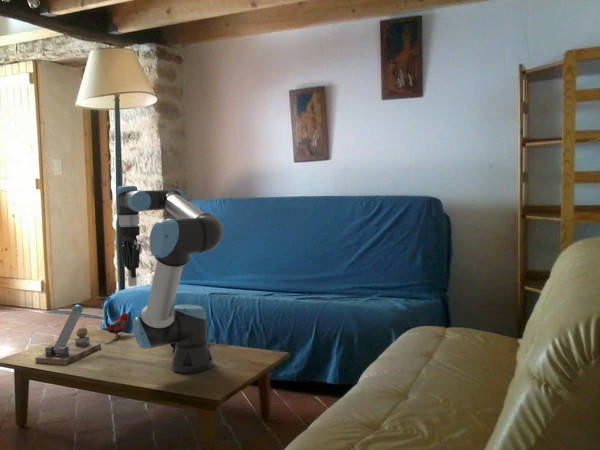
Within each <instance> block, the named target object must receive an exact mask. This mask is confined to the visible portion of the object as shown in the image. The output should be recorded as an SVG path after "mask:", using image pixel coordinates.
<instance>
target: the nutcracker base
mask: <svg viewBox="0 0 600 450" xmlns="http://www.w3.org/2000/svg"><path fill="white" fill-rule="evenodd" d="M75 332H76V336H77V337H75V338H74V341H71V342H69V343H67V344H66V346H62V347H60V348H58V355H56V354H53V353H52V352H53V348H54V346H55V345H48V346H46V347H44V351H45V353H43V354H41V355H39V356H36V357H35V364H46V363H48V365H59V366H60V365H65V366H66V365H69V364H70V363H73V362H75V361H77V360H79V359H82V358H84V357H86V356H87V355H90V354H91V353H94V352H95V351H97V350H100V349H101V348H102V347H101V344H102V343H100V342H98V343H97V342H91V341H90V335H88V328H86V327H85V326H80V327H78V328H77V329H76V331H75ZM87 335H88V336H87Z"/></svg>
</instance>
